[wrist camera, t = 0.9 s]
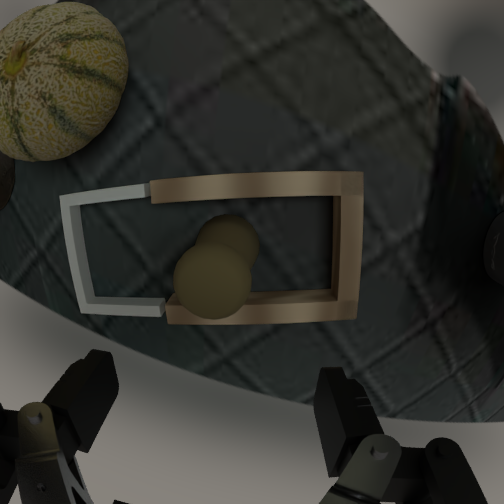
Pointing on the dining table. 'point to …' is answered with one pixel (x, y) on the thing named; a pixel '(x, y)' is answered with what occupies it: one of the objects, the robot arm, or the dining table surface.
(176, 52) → the dining table surface
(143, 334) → the dining table surface
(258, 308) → the oak channel
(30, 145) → the cantaloupe
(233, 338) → the dining table surface
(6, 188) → the pillar candle
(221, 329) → the dining table surface
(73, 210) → the grey u-shaped staple
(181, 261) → the olive gourd
